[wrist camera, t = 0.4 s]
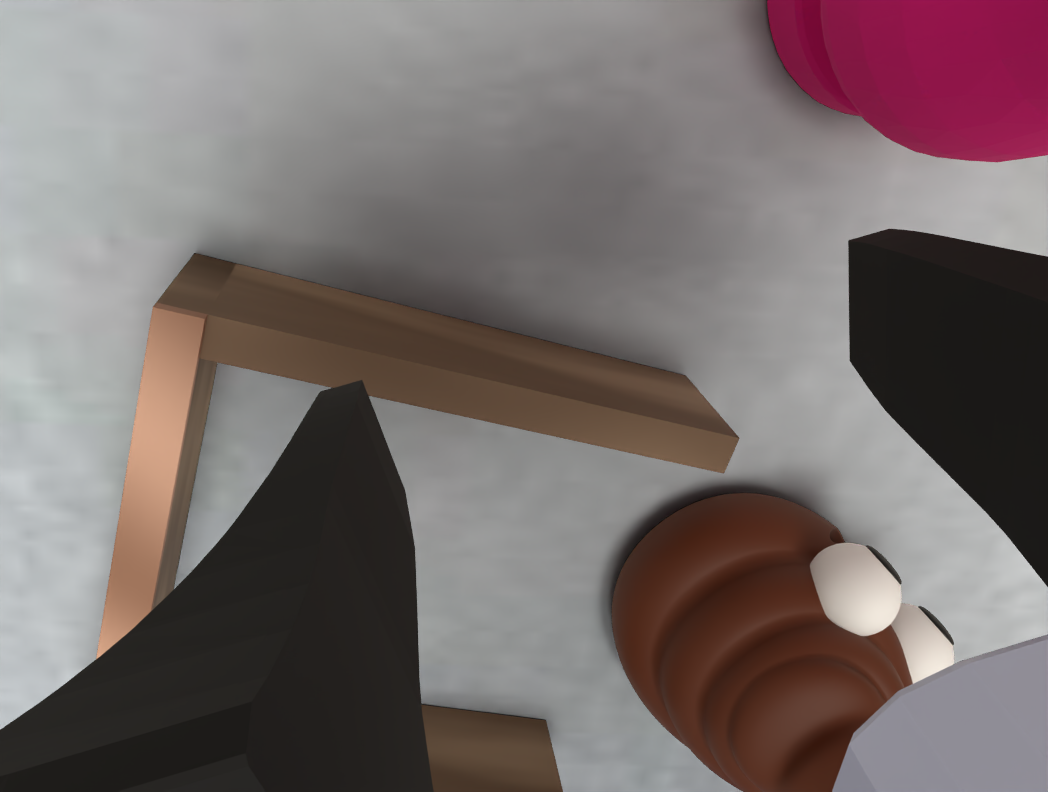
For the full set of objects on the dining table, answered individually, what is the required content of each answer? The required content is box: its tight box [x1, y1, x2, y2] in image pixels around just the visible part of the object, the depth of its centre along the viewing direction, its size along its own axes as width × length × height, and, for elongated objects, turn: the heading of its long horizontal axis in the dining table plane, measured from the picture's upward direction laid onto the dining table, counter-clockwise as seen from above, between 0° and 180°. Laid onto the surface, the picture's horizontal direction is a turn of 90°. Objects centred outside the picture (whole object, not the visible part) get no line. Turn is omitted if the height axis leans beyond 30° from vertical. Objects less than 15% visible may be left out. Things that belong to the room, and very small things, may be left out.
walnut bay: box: [96, 253, 739, 792], centre depth 23 cm, size 14×14×4 cm
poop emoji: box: [612, 493, 954, 792], centre depth 24 cm, size 10×8×9 cm
